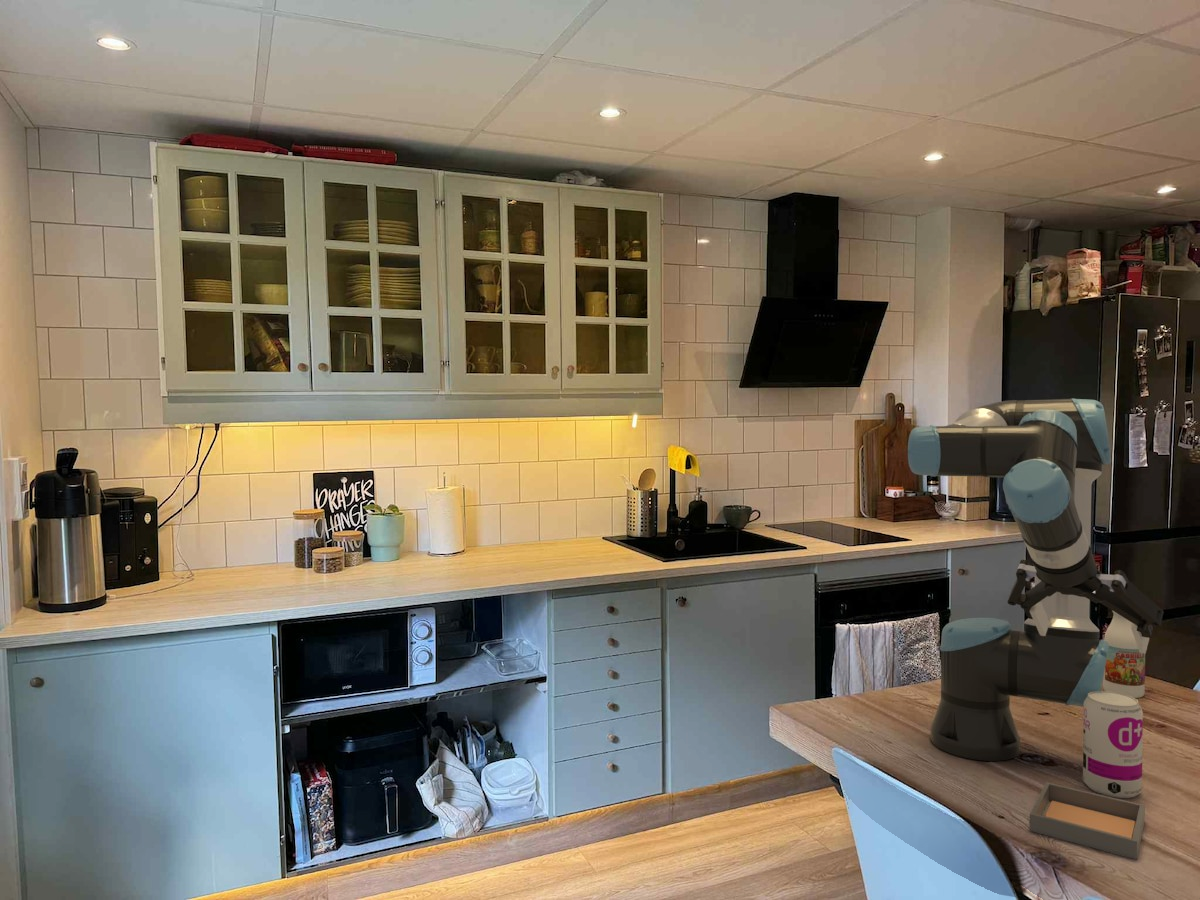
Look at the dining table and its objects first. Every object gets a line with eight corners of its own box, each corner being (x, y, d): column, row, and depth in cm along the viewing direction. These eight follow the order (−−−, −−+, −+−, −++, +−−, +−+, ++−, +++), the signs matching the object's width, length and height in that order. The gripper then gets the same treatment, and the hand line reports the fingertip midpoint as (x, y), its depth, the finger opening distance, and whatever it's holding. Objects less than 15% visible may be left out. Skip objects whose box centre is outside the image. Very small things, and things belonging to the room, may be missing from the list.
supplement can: (1153, 799, 129) (1154, 706, 128) (1101, 800, 129) (1102, 707, 128) (1121, 776, 137) (1122, 689, 136) (1072, 777, 137) (1073, 689, 136)
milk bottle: (1094, 688, 182) (1095, 599, 181) (1126, 686, 183) (1127, 598, 182) (1120, 699, 174) (1121, 607, 173) (1153, 698, 175) (1154, 606, 174)
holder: (1136, 859, 112) (1137, 841, 111) (1029, 830, 120) (1030, 814, 119) (1144, 821, 122) (1144, 805, 122) (1045, 797, 130) (1045, 781, 130)
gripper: (961, 560, 121) (1001, 641, 132) (1158, 584, 103) (1186, 675, 114) (977, 522, 125) (1014, 604, 135) (1170, 538, 106) (1196, 631, 117)
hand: (1092, 636), depth 125 cm, fingers open, 13 cm apart
